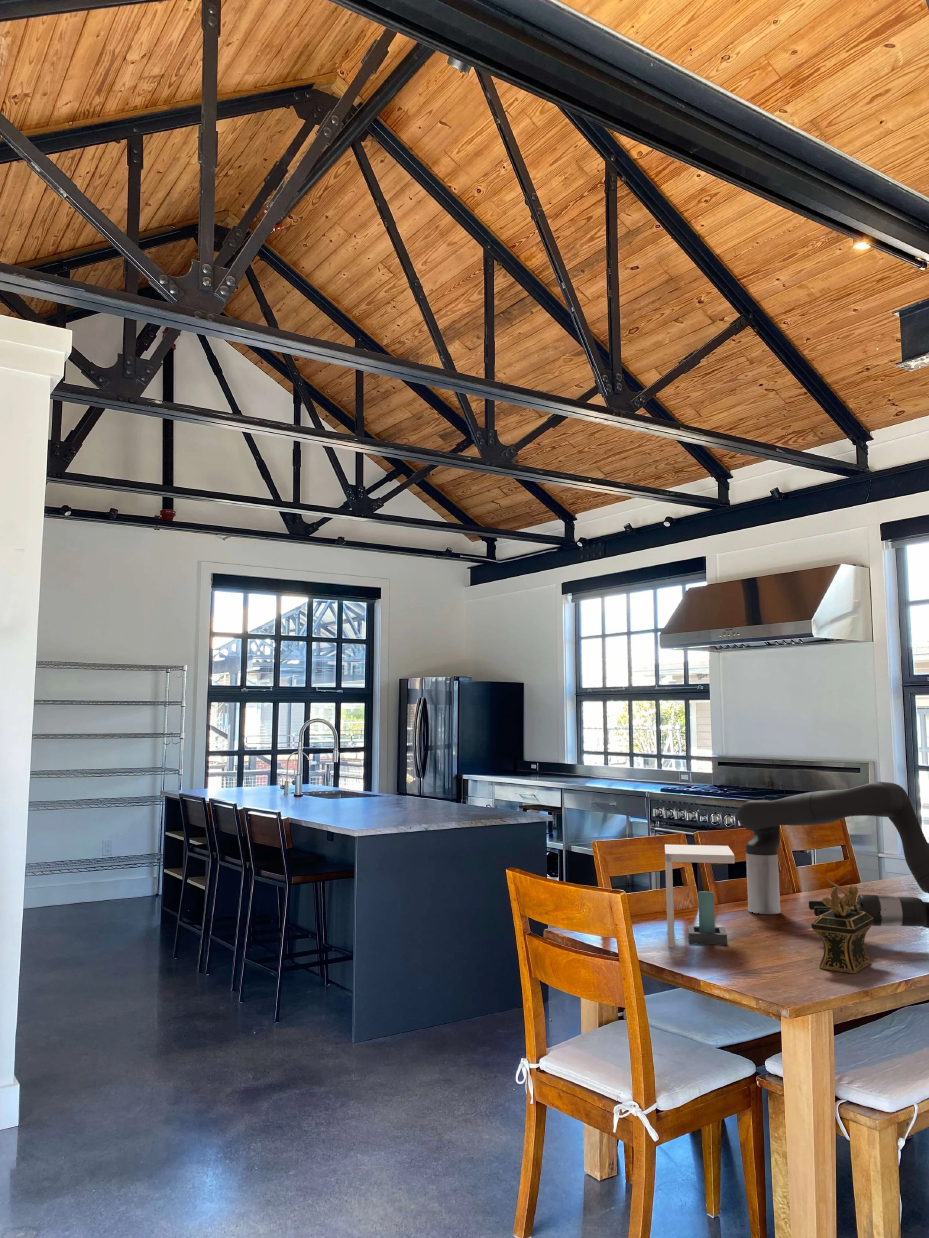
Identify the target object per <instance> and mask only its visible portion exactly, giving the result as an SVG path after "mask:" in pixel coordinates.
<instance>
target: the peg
mask: <svg viewBox="0 0 929 1238" xmlns="http://www.w3.org/2000/svg"><path fill="white" fill-rule="evenodd" d="M697 900H698V901H697V902H698V926H699V932H701V933H715V927H716V922H715V920H716V919H715V917H716V916H715V893H714V892H713V891H707V890H706V891H705V890H704V891H700V890H699V891H698V892H697Z"/></svg>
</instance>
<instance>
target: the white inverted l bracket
mask: <svg viewBox="0 0 929 1238" xmlns="http://www.w3.org/2000/svg"><path fill="white" fill-rule="evenodd" d="M735 859H736V856H735V854H734V852H733V850H732V849H731V848H730V847H729V845H709V844H708V845H707V844H705V845H704V844H703V845H702V844H668V843H667V844H664V864H665V865H664V867H665V869H664V870H665V890H666V891H665V895H666V896H665V897H666V922H667V923H666V924H667V945H668V948H675V947H676V944H675V943H676V941H675V940H676V939H675V938H676V937H675V936H676V935H675V913H674V912H675V910H674V907H675V905H674V886H673V885H674V881H673V880H674V879H673V863H704V864H705V863H707V864H709V863H710V864H735V862H736V860H735Z"/></svg>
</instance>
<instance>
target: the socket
mask: <svg viewBox="0 0 929 1238" xmlns="http://www.w3.org/2000/svg"><path fill="white" fill-rule="evenodd" d="M687 939H689V940H688V944H694V943H697V944H699V945H716V944H721V945H722V946H728V934H727V931H726V928H725V927H724V926H715V933H701V932H699V925H687ZM700 943H702V944H700ZM697 944H696V945H697ZM721 945H720V946H721Z"/></svg>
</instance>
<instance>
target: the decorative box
mask: <svg viewBox="0 0 929 1238" xmlns="http://www.w3.org/2000/svg"><path fill="white" fill-rule="evenodd" d="M826 877H827V878H826V879H827V882H828V883H829V884H830V885H832V886H833V887H834V888H833V889H832V891H831V893H830V898H829V896H828V897H827V896H826V897H822V898H821V901H823V903H824V904H825V905H826V906H828V907H830V908H831V909H832V910H831V911H829V912H826V913H824V914H822V915H820V916H817V917H816V918H815V920H813V921H812V922H811V923H810V924H811V925H810V926H811V929H812V930H813V931H814V932H815V933H816V935H818V936H819V938H820V940H821V941H822V944H823V955H822V957H821V959H820V963H819V965H818V968H820V969H822V970H825V969H826V971H831V970H832V971H831V972H837V971H838V972H837V973H844V974H849V975H850V974H852V975H853V974H857V973H858V972H860V971H861V970H863V969H864V968H867V966H869V965H870V964H872V960H871V959H870V956H869V955H868V953H867V951H866V946H865V940H866V939H865V938H866V936H867V933H868V931H869V930H870V928H872V927H873V926H872V925H873V923H874V919H873V918H872V917H871V916H870V915H868V914H867V913H865V912H863V911H858V907H857V897H858V895H859V894H858V893H859V888H858V887H857V886H855V885H849V887H848V890H847V891H846V890H845V889H844V888H843V887H842V886H840V885H839V884H836V883H834V882H832V881H831V879H830V877H829V876H828V875H827V876H826ZM838 890H840V892H841V893H842V894H843V895H844V896H840V895H839V893H838ZM839 904H840V905H839ZM853 905H854V908H850V907H852V906H853Z"/></svg>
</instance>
